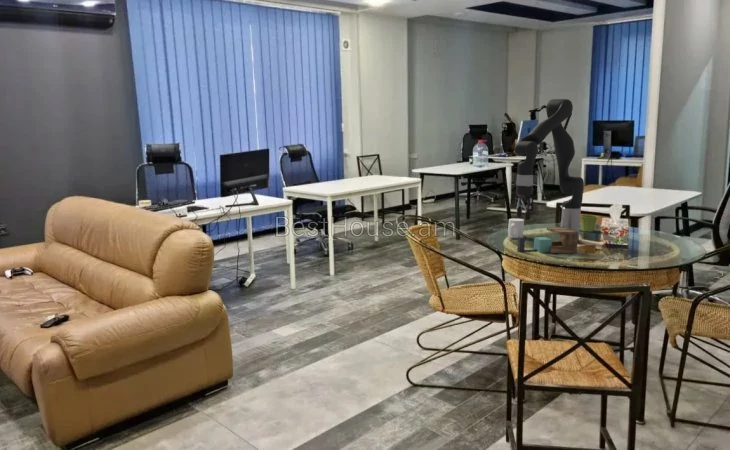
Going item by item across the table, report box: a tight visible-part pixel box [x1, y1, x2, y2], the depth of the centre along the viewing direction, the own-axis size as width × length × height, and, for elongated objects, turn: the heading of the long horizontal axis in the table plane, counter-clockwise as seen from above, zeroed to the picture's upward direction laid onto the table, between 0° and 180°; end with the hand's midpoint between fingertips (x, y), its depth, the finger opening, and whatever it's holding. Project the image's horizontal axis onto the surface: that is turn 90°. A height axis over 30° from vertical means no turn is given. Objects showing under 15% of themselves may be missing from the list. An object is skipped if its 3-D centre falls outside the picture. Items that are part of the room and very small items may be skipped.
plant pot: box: [580, 214, 599, 233], centre depth 317 cm, size 9×9×9 cm
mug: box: [507, 218, 525, 239], centre depth 301 cm, size 12×9×8 cm
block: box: [516, 236, 553, 253], centre depth 267 cm, size 6×15×7 cm, turn 101°
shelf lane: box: [546, 226, 578, 254], centre depth 269 cm, size 13×13×10 cm
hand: (523, 218), depth 264 cm, fingers open, 8 cm apart
